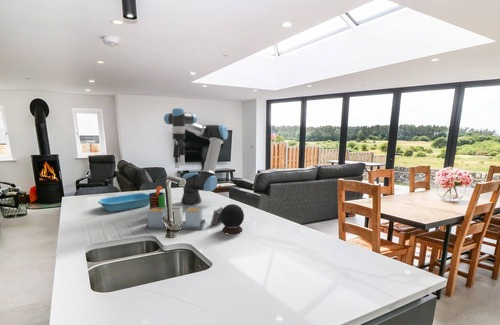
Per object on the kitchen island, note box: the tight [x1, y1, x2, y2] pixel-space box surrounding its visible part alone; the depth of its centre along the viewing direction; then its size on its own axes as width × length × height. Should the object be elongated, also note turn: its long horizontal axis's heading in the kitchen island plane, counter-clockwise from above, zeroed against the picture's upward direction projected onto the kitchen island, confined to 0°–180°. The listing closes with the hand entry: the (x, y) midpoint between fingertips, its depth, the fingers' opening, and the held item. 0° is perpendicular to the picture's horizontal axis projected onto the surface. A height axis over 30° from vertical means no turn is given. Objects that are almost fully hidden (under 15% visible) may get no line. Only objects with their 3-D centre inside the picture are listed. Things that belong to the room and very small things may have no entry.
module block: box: [171, 205, 184, 226], centre depth 153 cm, size 6×6×11 cm
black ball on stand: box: [220, 203, 245, 235], centre depth 146 cm, size 13×13×15 cm
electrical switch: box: [210, 206, 224, 226], centre depth 159 cm, size 9×5×9 cm, turn 157°
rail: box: [144, 206, 206, 231], centre depth 153 cm, size 11×32×11 cm, turn 91°
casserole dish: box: [97, 192, 150, 213], centre depth 193 cm, size 37×22×7 cm, turn 135°
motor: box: [148, 185, 166, 210], centre depth 168 cm, size 10×9×20 cm
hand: (179, 166), depth 169 cm, fingers open, 13 cm apart
